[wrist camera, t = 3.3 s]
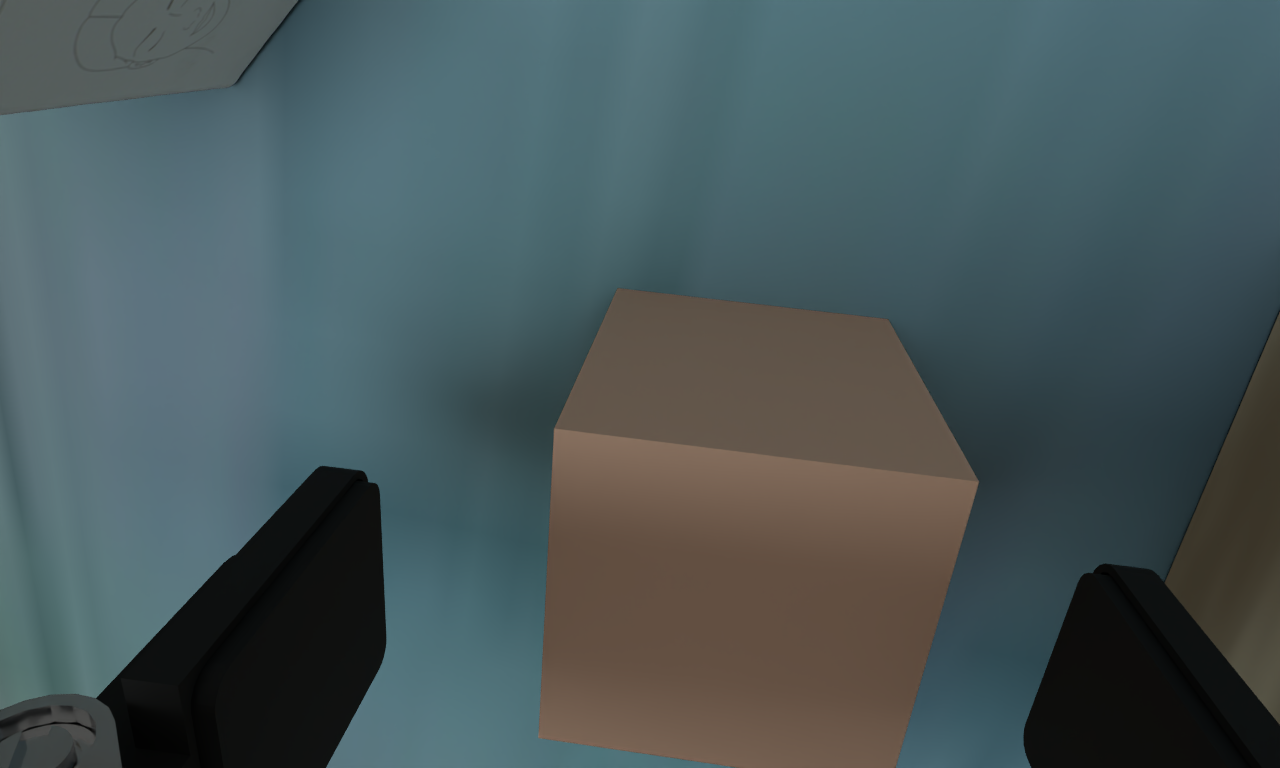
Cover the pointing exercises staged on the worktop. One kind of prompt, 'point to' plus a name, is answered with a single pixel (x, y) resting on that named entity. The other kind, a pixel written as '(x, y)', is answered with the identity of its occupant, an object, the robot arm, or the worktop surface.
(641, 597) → the terracotta block
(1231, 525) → the maple base block
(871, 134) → the worktop surface
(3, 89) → the small box
